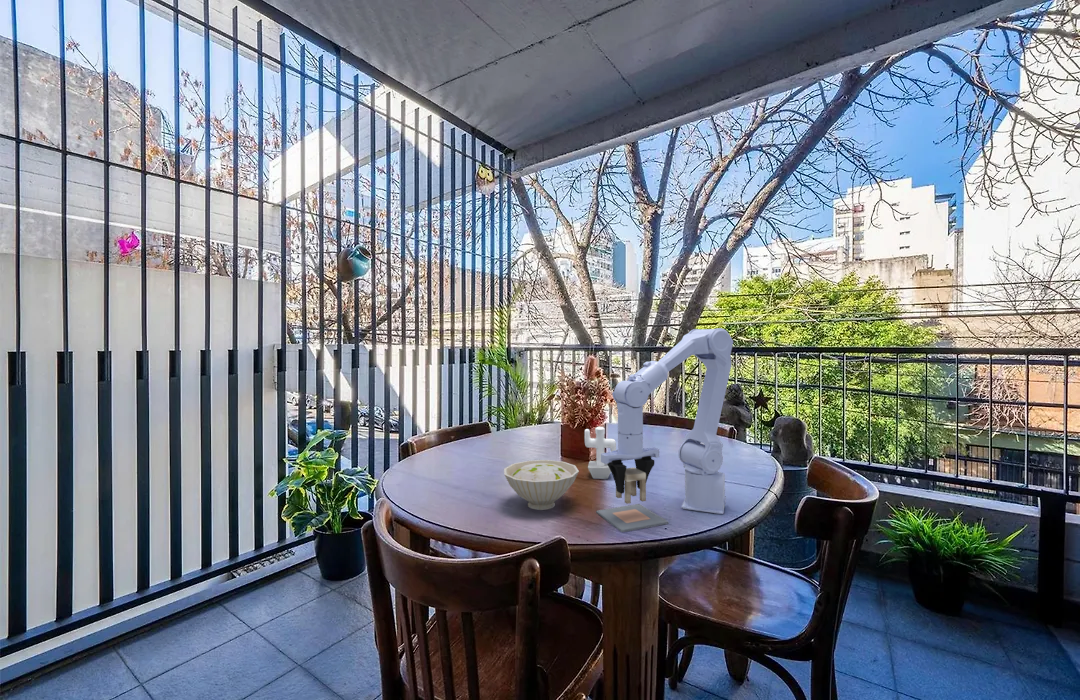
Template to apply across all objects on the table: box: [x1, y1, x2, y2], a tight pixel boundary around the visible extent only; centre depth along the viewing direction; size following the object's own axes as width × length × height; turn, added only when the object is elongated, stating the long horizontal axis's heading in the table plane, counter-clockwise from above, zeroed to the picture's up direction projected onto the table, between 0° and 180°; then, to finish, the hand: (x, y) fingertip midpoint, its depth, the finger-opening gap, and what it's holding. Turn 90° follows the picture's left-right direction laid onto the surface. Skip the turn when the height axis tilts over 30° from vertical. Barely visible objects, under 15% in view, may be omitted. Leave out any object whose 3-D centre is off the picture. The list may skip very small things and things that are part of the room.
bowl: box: [503, 459, 580, 511], centre depth 116 cm, size 19×19×10 cm
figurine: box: [584, 426, 617, 480], centre depth 139 cm, size 7×9×15 cm
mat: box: [596, 503, 669, 533], centre depth 107 cm, size 12×12×1 cm
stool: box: [615, 467, 647, 505], centre depth 107 cm, size 5×5×6 cm
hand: (630, 490), depth 107 cm, fingers closed on stool, 5 cm apart
